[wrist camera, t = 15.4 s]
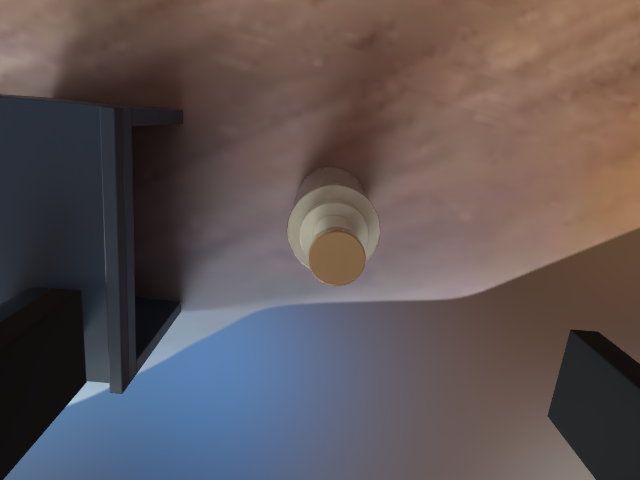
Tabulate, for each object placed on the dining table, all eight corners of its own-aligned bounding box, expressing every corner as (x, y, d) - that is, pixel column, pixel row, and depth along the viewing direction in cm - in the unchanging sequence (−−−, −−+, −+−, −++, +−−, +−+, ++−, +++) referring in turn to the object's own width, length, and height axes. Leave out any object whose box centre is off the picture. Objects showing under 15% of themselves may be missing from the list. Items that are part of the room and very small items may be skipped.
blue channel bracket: (52, 97, 34) (-83, 88, 23) (182, 110, 35) (114, 107, 23) (65, 302, 39) (-43, 381, 27) (180, 312, 39) (122, 394, 28)
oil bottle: (298, 163, 36) (283, 197, 21) (368, 170, 36) (402, 208, 21) (293, 231, 37) (275, 307, 22) (360, 237, 37) (386, 317, 23)
